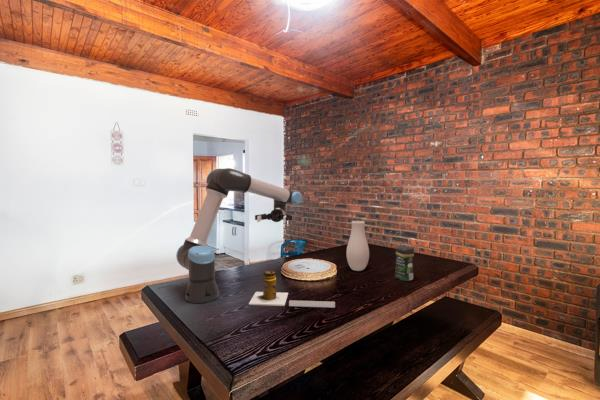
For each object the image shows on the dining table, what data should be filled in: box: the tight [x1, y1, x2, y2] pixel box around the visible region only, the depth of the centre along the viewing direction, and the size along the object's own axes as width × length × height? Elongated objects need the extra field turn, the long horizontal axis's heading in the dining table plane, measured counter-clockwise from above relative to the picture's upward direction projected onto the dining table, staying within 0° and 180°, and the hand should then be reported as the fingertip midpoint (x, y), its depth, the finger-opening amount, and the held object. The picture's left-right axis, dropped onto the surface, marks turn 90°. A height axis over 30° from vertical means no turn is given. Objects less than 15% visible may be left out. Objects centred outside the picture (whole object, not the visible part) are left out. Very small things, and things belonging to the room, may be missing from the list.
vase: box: [345, 220, 370, 272], centre depth 183 cm, size 14×14×30 cm
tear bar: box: [288, 299, 336, 308], centre depth 131 cm, size 20×2×2 cm, turn 86°
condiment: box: [257, 270, 279, 302], centre depth 138 cm, size 7×8×12 cm
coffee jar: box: [394, 245, 415, 282], centre depth 166 cm, size 10×8×19 cm
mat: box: [248, 291, 289, 307], centre depth 139 cm, size 16×14×1 cm
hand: (270, 219), depth 153 cm, fingers open, 13 cm apart
